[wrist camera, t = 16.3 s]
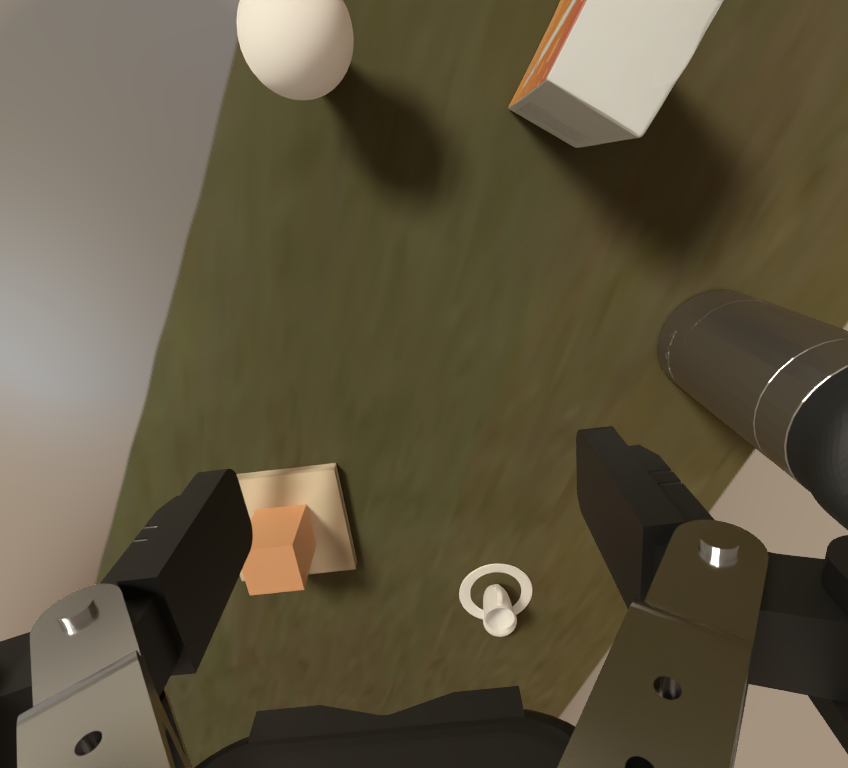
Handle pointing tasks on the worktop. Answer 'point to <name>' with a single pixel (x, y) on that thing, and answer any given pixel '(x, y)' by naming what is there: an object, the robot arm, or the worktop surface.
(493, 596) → the white ring and cup
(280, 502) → the post base
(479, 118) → the worktop surface
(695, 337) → the robot arm
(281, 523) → the salmon cube
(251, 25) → the light bulb
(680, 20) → the small box
